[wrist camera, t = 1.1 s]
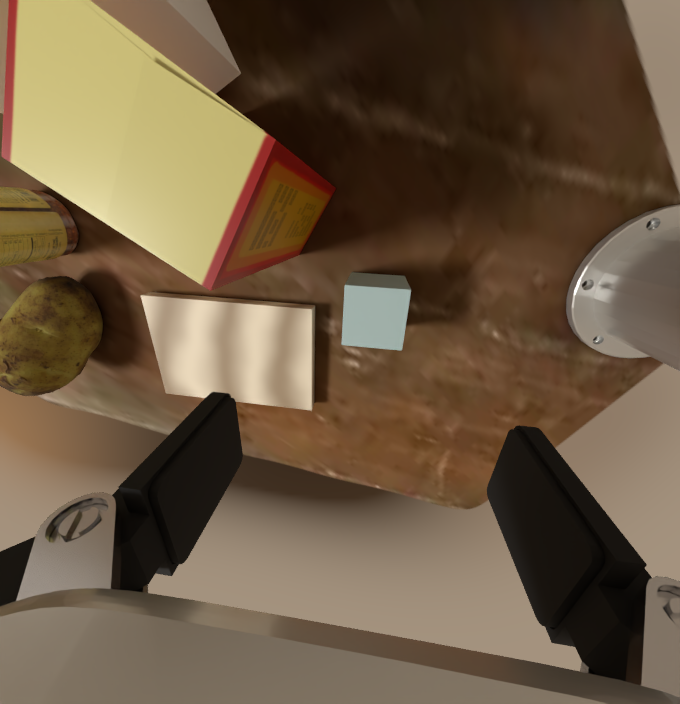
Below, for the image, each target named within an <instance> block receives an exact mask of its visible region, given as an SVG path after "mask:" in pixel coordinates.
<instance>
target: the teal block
mask: <svg viewBox="0 0 680 704" xmlns="http://www.w3.org/2000/svg"><path fill="white" fill-rule="evenodd" d="M410 295H411V288H410V286H409V284H408V282H407V280H406V278H405V276H399V275H384V274H369V273H355V272H352V273H351V274H350V276H349V278H348V280H347V282H346V284H345V291H344V310H343V329H342V345H348V346H359V347H370V348H381V349H391V350H402V347H403V340H404V334H405V327H406V321H407V314H408V308H409V301H410Z"/></svg>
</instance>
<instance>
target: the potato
mask: <svg viewBox="0 0 680 704" xmlns="http://www.w3.org/2000/svg"><path fill="white" fill-rule="evenodd" d="M102 330H103V321H102V316H101V312H100V310H99V307H98V305H97V303H96V301H95V300H94V298H93V296H92V294H91V293H90V291H89V290H88V289H87V288H86V287H84V286H83V285H82V284H80V283H79V282H77V281H76V280H74V279H72V278H70V277H67V276H58V277H50V278H49V277H47V278H44V279H39V280H38V281H36V282H34V283H33V284H31V285H30V286H29V287H28V288H27V289H26V290H25V291H24V292H23V293H22V294H21V295H20V297H19V298H18V299H17V300H16V301H15V303H14V304H13V305H12V307H11V308H10V309H9V311H8V312H7V313H6V314H5V315H4V317H3V318H2V319H0V386H1V387H3V388H5V389H7V390H9V391H11V392H14V393H16V394H20V395H24V396H36V395H42V394H45V393H50V392H54V391H55V390H57V389H60V388H62V387H63V386H65V385H67V384H68V383H70V382H71V381H72V380H73V379H74V378H75V377H76V376H77V375H79V374H80V373H81V372H82V370H83V368H84V367H85V364H86V363H87V361H88V358H89V356H90V354H91V353H92V352H93V351H94V350H95V349H96V347H97V346H98V344H99V343H100V340H101V336H102Z"/></svg>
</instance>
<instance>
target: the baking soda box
mask: <svg viewBox="0 0 680 704" xmlns="http://www.w3.org/2000/svg"><path fill="white" fill-rule="evenodd" d="M2 157H3V158H5V159H6V160H8V161H9V162H11V163H12V164H14V165H15V166H17V167H19V168H20V169H22V170H23V171H25V172H26V173H28V174H30V175H31V176H33V177H34V178H36V179H37V180H39V181H40V182H42V183H44V184H45V185H47V186H48V187H50V188H51V189H53V190H54V191H56V192H58V193H59V194H61V195H62V196H64V197H65V198H67V199H68V200H70V201H72V202H73V203H75V204H76V205H78V206H79V207H81V208H82V209H84V210H86V211H87V212H89V213H90V214H92V215H93V216H95V217H96V218H98V219H100V220H101V221H103V222H104V223H106V224H107V225H109V226H110V227H112V228H114V229H115V230H117V231H118V232H120V233H121V234H123V235H124V236H126V237H128V238H129V239H131V240H132V241H134V242H135V243H137V244H138V245H140V246H142V247H143V248H145V249H146V250H148V251H149V252H151V253H152V254H154V255H156V256H157V257H159V258H160V259H162V260H163V261H165V262H166V263H168V264H170V265H171V266H173V267H174V268H176V269H177V270H179V271H180V272H182V273H184V274H185V275H187V276H188V277H190V278H191V279H193V280H194V281H196V282H198V283H199V284H201V285H202V286H204V287H205V288H207V289H208V290H210V291H211V290H214V289H216V288H218V287H221V286H223V285H226V284H228V283H231V282H233V281H236V280H238V279H241V278H243V277H246V276H248V275H251V274H253V273H256V272H258V271H261V270H263V269H266V268H268V267H271V266H273V265H276V264H278V263H281V262H283V261H286V260H288V259H290V258H293V257H295V256H298V255H300V253H301V251H302V249H303V247H304V246H305V244H306V242H307V240H308V238H309V237H310V235H311V233H312V231H313V230H314V228H315V226H316V224H317V222H318V221H319V219H320V217H321V215H322V213H323V212H324V210H325V208H326V206H327V204H328V203H329V201H330V199H331V197H332V195H333V194H334V192H335V190H336V188H335V187H334V186H333V185H331V184H330V183H329V182H328V181H326V180H325V179H324V178H323V177H322V176H320V175H319V174H318V173H317V172H315V171H314V170H313V169H312V168H310V167H309V166H308V165H307V164H305V163H304V162H303V161H302V160H300V159H299V158H298V157H297V156H295V155H294V154H293V153H292V152H290V151H289V150H288V149H287V148H285V147H284V146H283V145H282V144H281V143H279V142H278V141H277V140H276V139H274V138H273V137H272V136H270V135H269V134H268V133H266V132H265V131H264V130H262V129H261V128H260V127H258V126H257V125H256V124H254V123H253V122H252V121H250V120H249V119H248V118H246V117H245V116H244V115H242V114H241V113H240V112H238V111H237V110H236V109H234V108H233V107H232V106H230V105H229V104H228V103H226V102H225V101H224V100H222V99H221V98H220V97H218V96H217V95H216V94H214V93H213V92H212V91H210V90H209V89H208V88H206V87H205V86H204V85H202V84H201V83H200V82H198V81H197V80H196V79H194V78H193V77H192V76H190V75H189V74H188V73H186V72H185V71H184V70H182V69H181V68H180V67H178V66H177V65H176V64H174V63H173V62H172V61H170V60H169V59H168V58H166V57H165V56H164V55H162V54H161V53H160V52H158V51H157V50H156V49H154V48H153V47H152V46H150V45H149V44H148V43H146V42H145V41H144V40H142V39H141V38H140V37H138V36H137V35H136V34H134V33H133V32H132V31H130V30H129V29H128V28H126V27H125V26H124V25H122V24H121V23H120V22H118V21H117V20H116V19H114V18H113V17H112V16H110V15H109V14H108V13H106V12H105V11H104V10H102V9H101V8H100V7H98V6H97V5H96V4H94V3H93V2H92V1H90V0H9V7H8V29H7V50H6V72H5V93H4V115H3V136H2Z"/></svg>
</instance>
